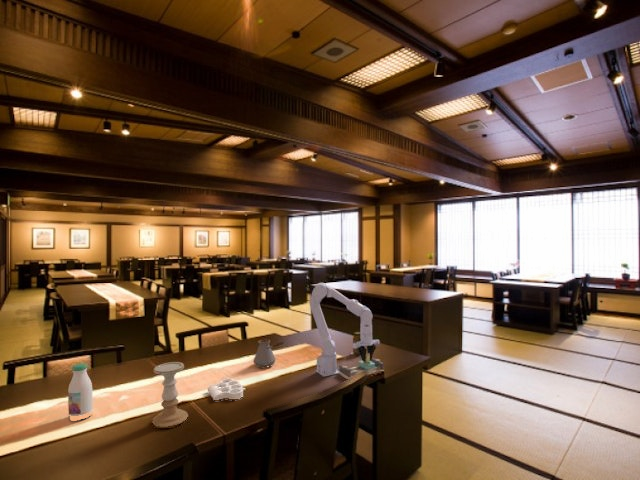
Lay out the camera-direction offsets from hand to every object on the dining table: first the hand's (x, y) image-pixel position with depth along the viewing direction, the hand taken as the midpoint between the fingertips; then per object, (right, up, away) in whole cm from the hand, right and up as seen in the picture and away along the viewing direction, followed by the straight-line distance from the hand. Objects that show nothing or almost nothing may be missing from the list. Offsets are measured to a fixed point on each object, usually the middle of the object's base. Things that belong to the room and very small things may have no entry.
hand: (366, 360), depth 179 cm
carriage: (0, -3, 0) cm, 3 cm away
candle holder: (-78, -8, -44) cm, 90 cm away
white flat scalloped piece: (-63, -8, -21) cm, 67 cm away
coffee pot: (-48, -7, +9) cm, 50 cm away
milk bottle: (-114, -8, -40) cm, 121 cm away
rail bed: (-3, -6, -1) cm, 6 cm away
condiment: (-1, -6, +28) cm, 28 cm away
